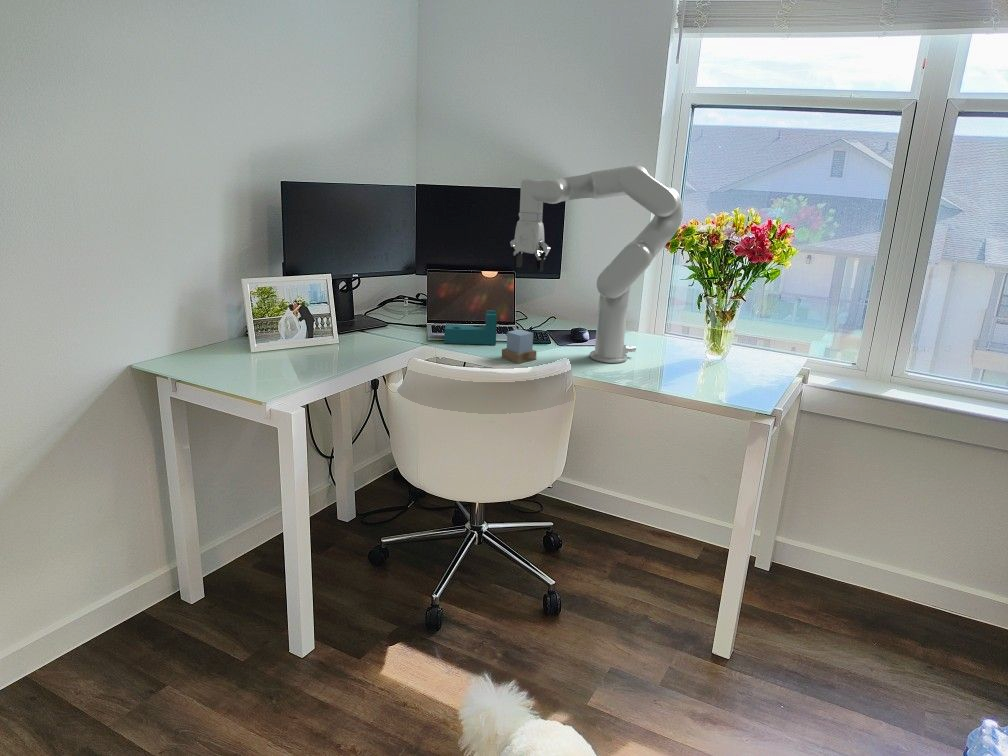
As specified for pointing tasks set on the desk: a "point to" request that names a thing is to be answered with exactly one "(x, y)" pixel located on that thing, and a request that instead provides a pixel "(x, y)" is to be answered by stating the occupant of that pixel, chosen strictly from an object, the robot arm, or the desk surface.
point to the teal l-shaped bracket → (473, 332)
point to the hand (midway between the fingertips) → (528, 269)
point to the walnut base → (518, 356)
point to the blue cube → (519, 341)
